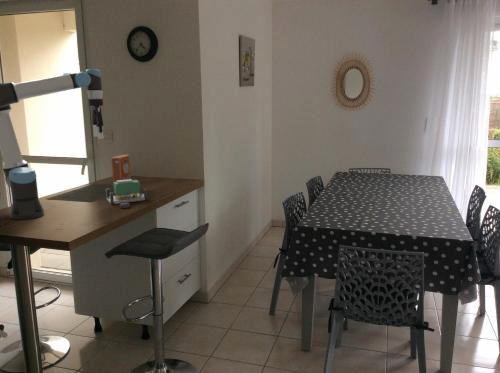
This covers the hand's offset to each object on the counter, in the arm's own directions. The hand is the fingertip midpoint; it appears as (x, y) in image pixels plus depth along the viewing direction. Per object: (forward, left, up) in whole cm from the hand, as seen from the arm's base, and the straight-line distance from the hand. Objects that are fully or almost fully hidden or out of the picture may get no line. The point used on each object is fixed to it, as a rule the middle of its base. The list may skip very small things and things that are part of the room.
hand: (98, 137), depth 253 cm
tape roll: (+6, -26, -35) cm, 44 cm away
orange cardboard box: (+14, +15, -35) cm, 41 cm away
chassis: (+11, -9, -35) cm, 37 cm away
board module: (+11, -9, -31) cm, 34 cm away
